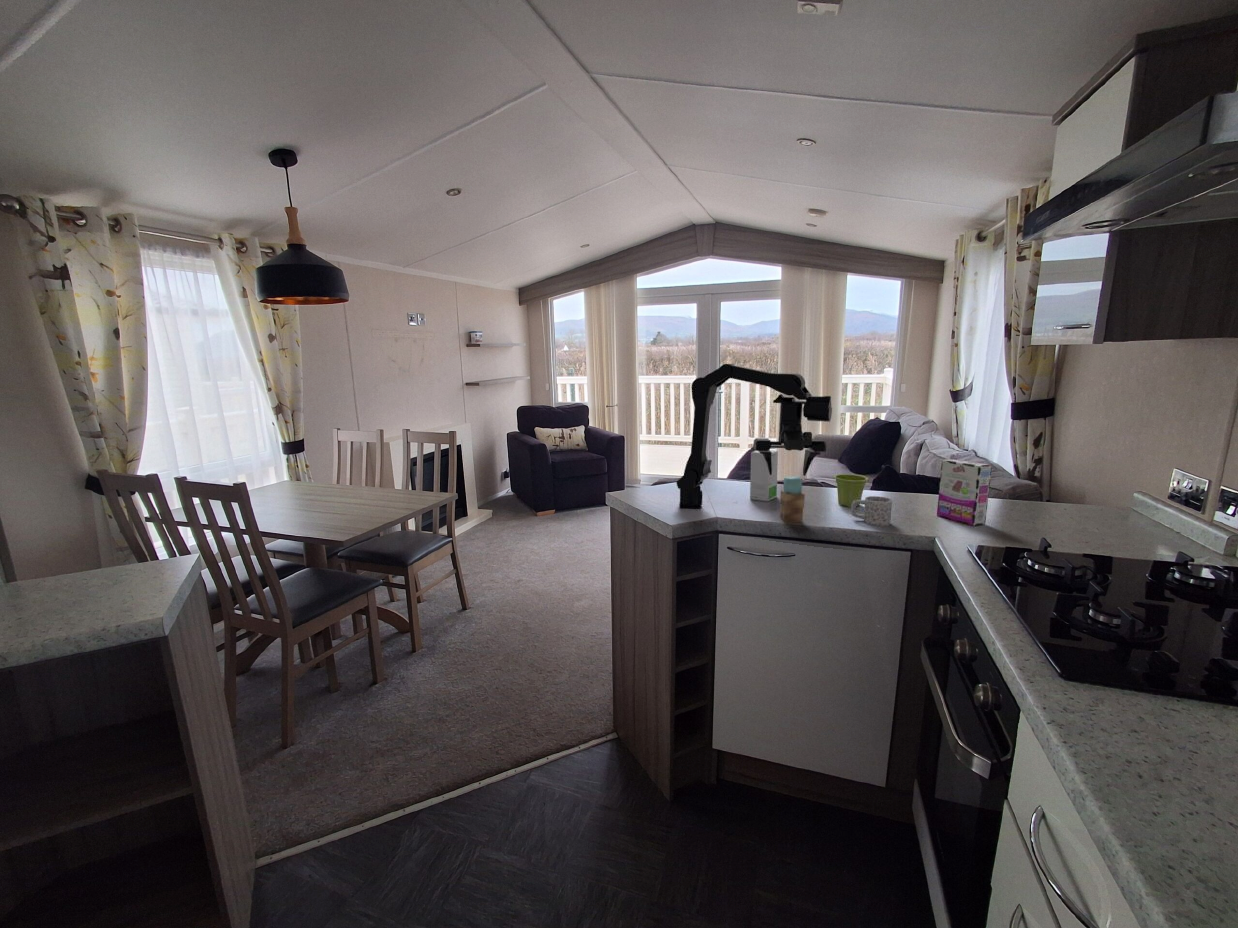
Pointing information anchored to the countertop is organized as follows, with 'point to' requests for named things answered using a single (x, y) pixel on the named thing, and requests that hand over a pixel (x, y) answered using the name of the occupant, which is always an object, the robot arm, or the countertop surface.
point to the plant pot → (849, 488)
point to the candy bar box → (964, 491)
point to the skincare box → (763, 477)
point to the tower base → (791, 514)
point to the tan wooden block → (792, 500)
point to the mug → (874, 510)
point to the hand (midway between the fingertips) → (787, 475)
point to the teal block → (792, 485)
